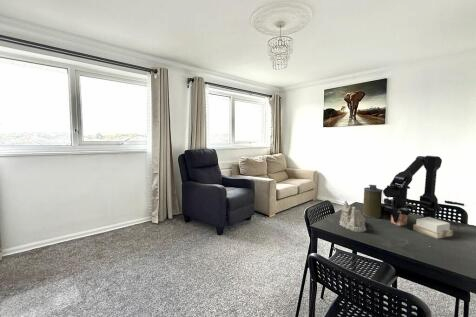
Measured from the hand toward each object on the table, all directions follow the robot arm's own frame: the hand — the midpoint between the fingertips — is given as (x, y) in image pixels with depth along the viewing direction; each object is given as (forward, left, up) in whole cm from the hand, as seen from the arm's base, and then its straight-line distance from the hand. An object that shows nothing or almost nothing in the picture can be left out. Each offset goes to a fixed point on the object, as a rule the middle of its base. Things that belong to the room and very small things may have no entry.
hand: (398, 221), depth 139 cm
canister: (+3, -16, -1) cm, 16 cm away
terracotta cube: (0, 0, -1) cm, 1 cm away
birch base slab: (-5, +15, -2) cm, 16 cm away
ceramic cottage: (+28, -6, -1) cm, 28 cm away
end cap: (-9, -14, -1) cm, 17 cm away
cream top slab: (-5, +15, +2) cm, 16 cm away
